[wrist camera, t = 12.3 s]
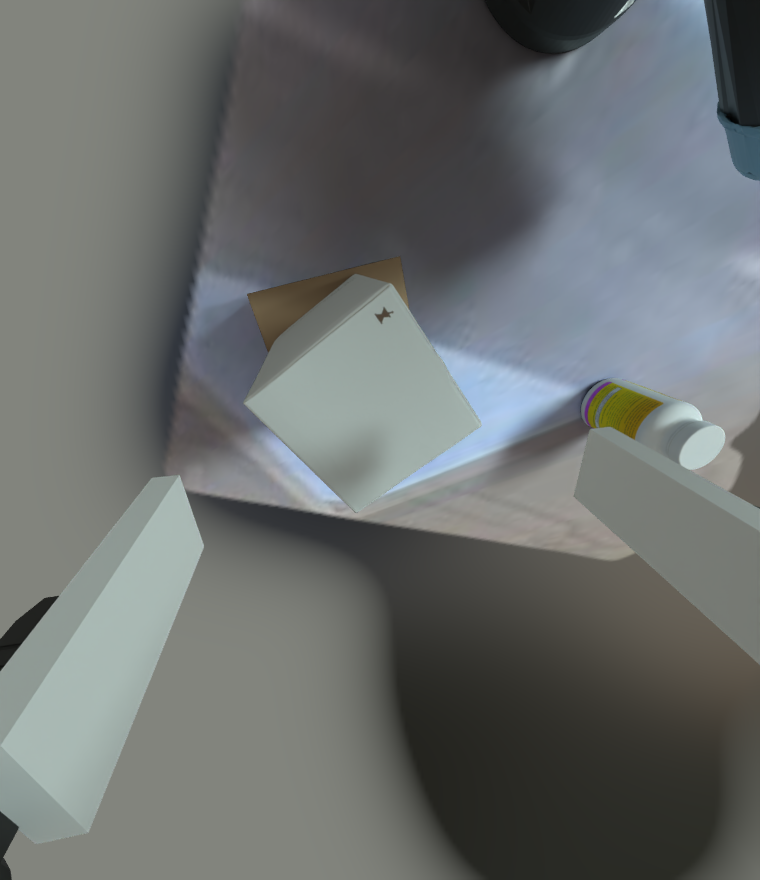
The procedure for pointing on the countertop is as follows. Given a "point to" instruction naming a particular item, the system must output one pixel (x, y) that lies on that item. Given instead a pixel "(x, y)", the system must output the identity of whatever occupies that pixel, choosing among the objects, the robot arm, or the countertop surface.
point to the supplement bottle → (653, 421)
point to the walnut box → (314, 296)
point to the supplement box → (360, 392)
